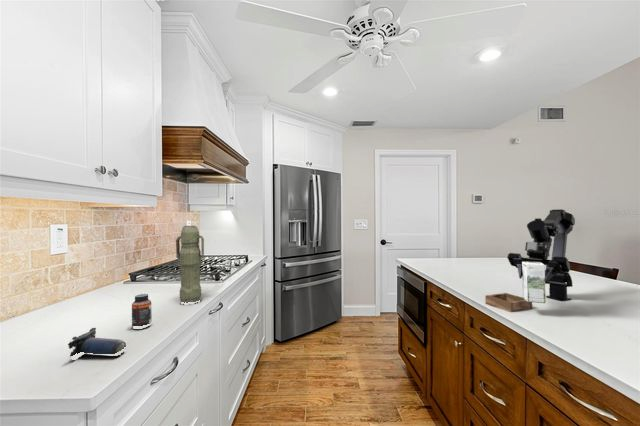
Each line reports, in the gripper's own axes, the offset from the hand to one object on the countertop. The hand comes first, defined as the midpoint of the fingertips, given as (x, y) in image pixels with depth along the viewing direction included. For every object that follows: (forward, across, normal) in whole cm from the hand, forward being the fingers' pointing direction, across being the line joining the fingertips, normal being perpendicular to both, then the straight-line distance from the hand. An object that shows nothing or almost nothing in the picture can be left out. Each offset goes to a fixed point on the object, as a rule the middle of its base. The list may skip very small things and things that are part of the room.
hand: (532, 279), depth 106 cm
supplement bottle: (+92, -82, -75) cm, 144 cm away
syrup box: (+5, 0, +7) cm, 9 cm away
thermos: (+77, -103, -60) cm, 142 cm away
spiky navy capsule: (+100, -65, -83) cm, 145 cm away
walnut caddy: (+6, -10, +12) cm, 17 cm away
